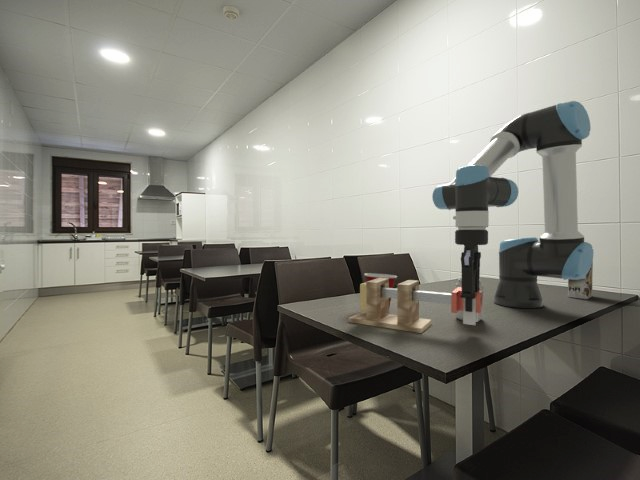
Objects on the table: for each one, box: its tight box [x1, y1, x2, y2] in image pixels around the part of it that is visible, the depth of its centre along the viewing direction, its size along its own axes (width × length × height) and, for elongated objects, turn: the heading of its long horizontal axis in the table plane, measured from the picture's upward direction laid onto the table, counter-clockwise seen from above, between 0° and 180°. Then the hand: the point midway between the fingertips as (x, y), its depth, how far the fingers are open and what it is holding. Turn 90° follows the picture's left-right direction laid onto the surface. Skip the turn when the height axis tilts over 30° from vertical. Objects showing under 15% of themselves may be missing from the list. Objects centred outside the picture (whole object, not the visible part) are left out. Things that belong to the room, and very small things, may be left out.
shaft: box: [381, 287, 482, 314], centre depth 93 cm, size 31×9×5 cm, turn 58°
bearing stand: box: [348, 278, 433, 334], centre depth 97 cm, size 21×10×12 cm, turn 58°
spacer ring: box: [359, 281, 367, 311], centre depth 101 cm, size 2×7×7 cm, turn 147°
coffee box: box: [567, 260, 594, 300], centre depth 133 cm, size 9×6×16 cm
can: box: [455, 277, 484, 322], centre depth 101 cm, size 8×8×12 cm
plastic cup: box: [364, 272, 398, 309], centre depth 114 cm, size 11×11×12 cm
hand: (470, 322), depth 86 cm, fingers closed on shaft, 3 cm apart
